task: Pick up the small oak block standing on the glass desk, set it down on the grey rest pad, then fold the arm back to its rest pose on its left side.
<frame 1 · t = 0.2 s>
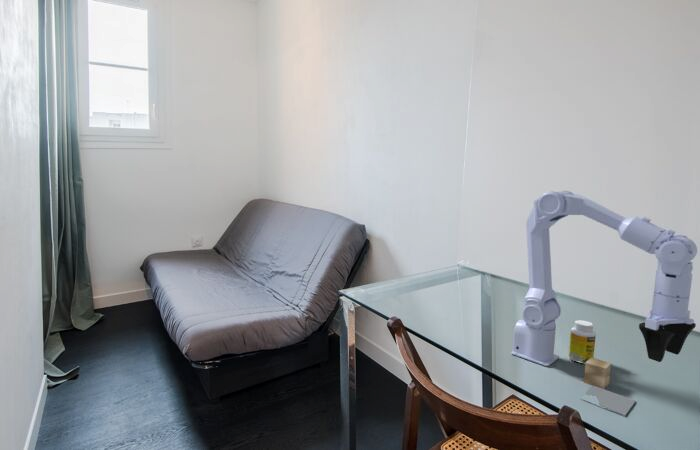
hand: (663, 356, 81), 10 cm above the table, tool pointing down, fingers open, 7 cm apart
rest pad: (607, 400, 82), on the table
supplement bottle: (580, 361, 100), on the table
oak block: (596, 383, 89), on the table
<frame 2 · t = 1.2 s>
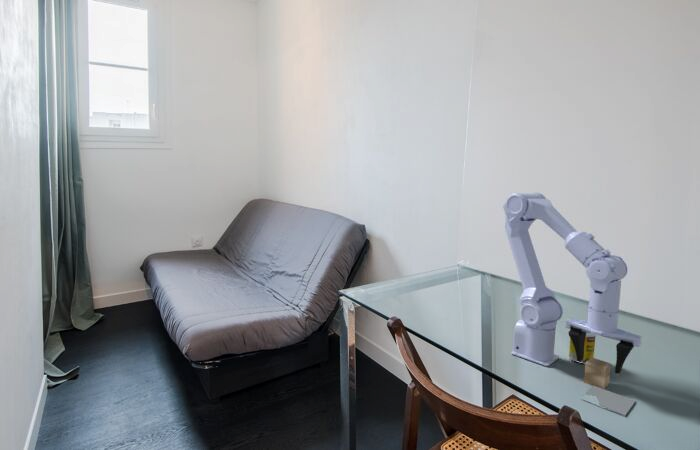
hand: (598, 366, 88), 4 cm above the table, tool pointing down, fingers open, 7 cm apart
nothing on the table moved.
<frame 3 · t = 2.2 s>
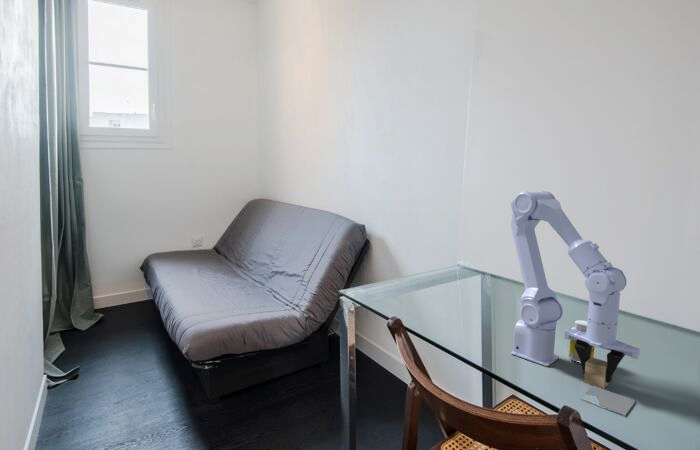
hand: (596, 377, 89), 1 cm above the table, tool pointing down, fingers closed on oak block, 4 cm apart
oak block: (596, 383, 89), on the table, touching gripper
everything else where it was.
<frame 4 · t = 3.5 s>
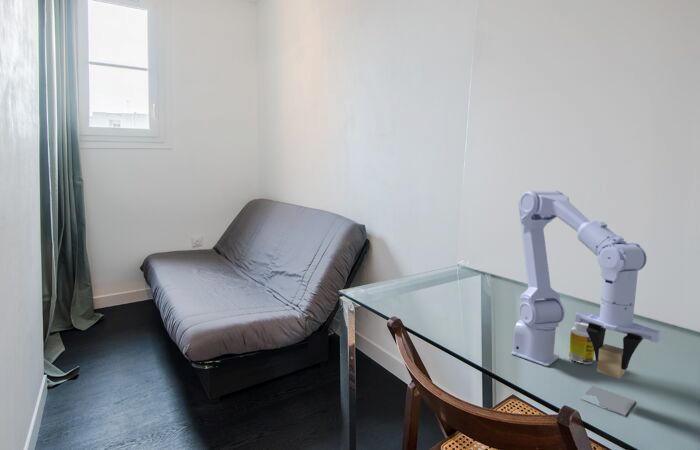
hand: (611, 363, 81), 8 cm above the table, tool pointing down, fingers closed on oak block, 4 cm apart
oak block: (610, 372, 81), point 6 cm above the table, touching gripper
everything else where it was.
when the fingers open (3 cm above the table, at t = 4.8 s): oak block drops 1 cm, resting on rest pad.
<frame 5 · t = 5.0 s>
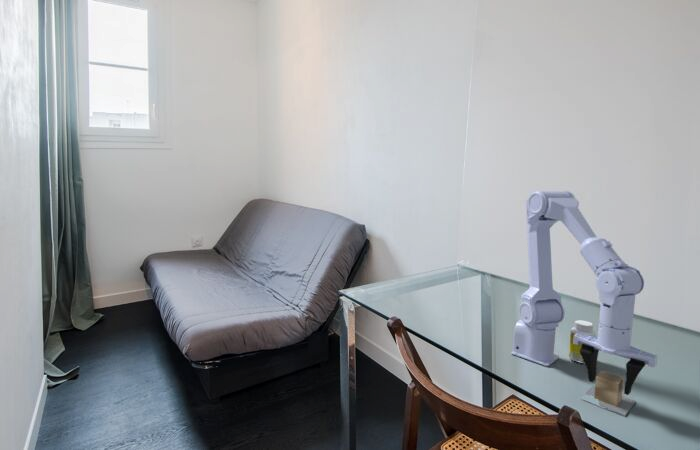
hand: (609, 386, 81), 3 cm above the table, tool pointing down, fingers open, 6 cm apart
oak block: (607, 398, 82), resting on rest pad
everything else where it was.
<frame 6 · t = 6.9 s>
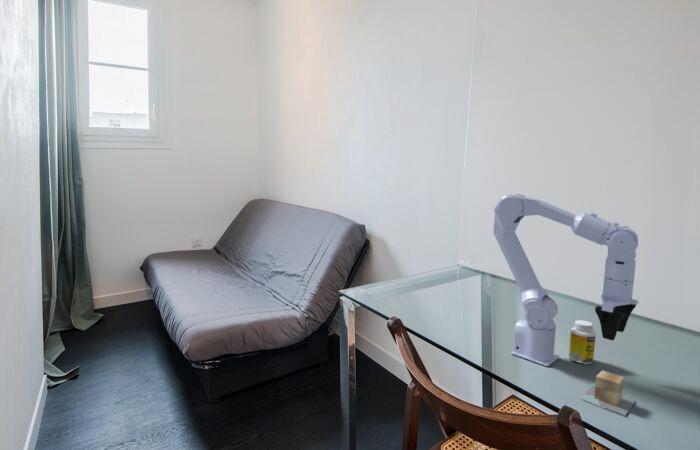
hand: (613, 334, 91), 10 cm above the table, tool pointing down, fingers open, 7 cm apart
nothing on the table moved.
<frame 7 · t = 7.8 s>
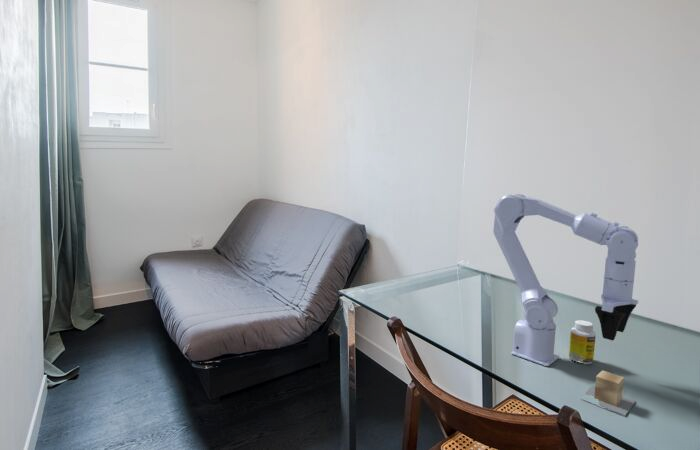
hand: (613, 334, 91), 10 cm above the table, tool pointing down, fingers open, 7 cm apart
nothing on the table moved.
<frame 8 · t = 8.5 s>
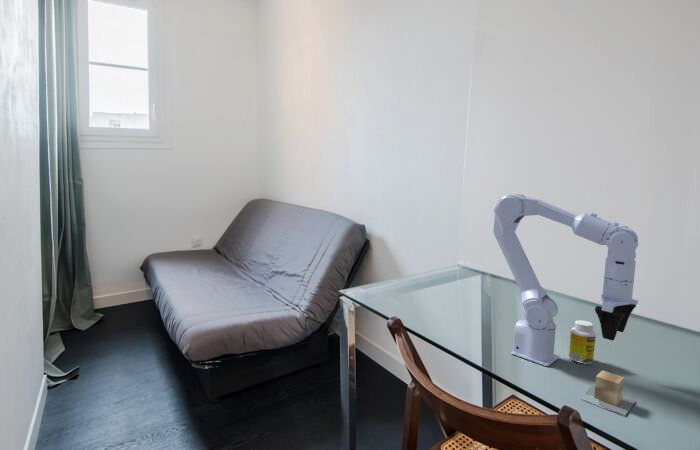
hand: (613, 334, 91), 10 cm above the table, tool pointing down, fingers open, 7 cm apart
nothing on the table moved.
at the end: oak block inside the target area on the rest pad (0.1 cm from its centre), point 0.3 cm above the rest pad's base; oak block tilted 0°; the gripper is holding nothing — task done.
